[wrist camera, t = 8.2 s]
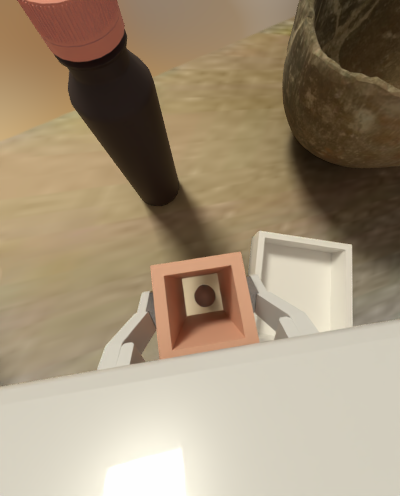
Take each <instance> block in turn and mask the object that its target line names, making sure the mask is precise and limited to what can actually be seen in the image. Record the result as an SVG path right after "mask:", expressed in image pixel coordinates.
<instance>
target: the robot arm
mask: <svg viewBox="0 0 400 496" xmlns="http://www.w3.org/2000/svg"><path fill="white" fill-rule="evenodd" d="M246 279H247V284H248V289H249V294H250V299H251V303H252V308H253V313H255V314H256V315H257V316H259V317H260V318H261V319H262V320H263V321H264V322H265V323H267V324H268V325H269V326H270V327H271V328H272V329H273V330H274V331H276V334H275V338H274V340H272V341H266V342H260V343H254V344H248V345H242V346H236V347H230V348H225V349H219V350H213V351H207V352H201V353H195V354H189V355H184V356H178V357H172V358H166V359H160V360H154V361H148V362H145V361H144V359H143V357H142V356H141V354H142V352H143V351H144V349H145V347H146V346H147V344H148V343H149V341H150V339H151V338H152V336H153V334H154V333H155V331H156V329H157V328H156V318H155V308H154V297H153V291H147V292H143V293H142V294H141V298H140V303H139V307H138V311H137V313H135V314H134V315H133V316H132V317H131V318H130V319H129V320H128V322H127V323H126V324H125V325H124V326H123V327H122V328H121V329H120V330H119V331H118V333H117V334H116V335H115V336H114V337H113V338H112V339H111V340H110V341H109V343H108V344H107V345H106V346H105V349H104V352H103V354H102V357H101V360H100V363H99V366H98V369H97V370H95V371H89V372H83V373H77V374H71V375H65V376H59V377H53V378H47V379H42V380H36V381H30V382H24V383H18V384H12V385H6V386H0V496H400V319H396V320H390V321H384V322H378V323H372V324H366V325H360V326H354V327H348V328H343V329H337V330H331V331H325V332H319V331H318V330H317V328H316V327H315V326H314V324H313V323H312V321H311V320H310V319H309V317H308V316H307V314H306V313H305V312H303V311H301V310H300V309H298V308H296V307H295V306H293V305H291V304H290V303H288V302H286V301H285V300H283V299H281V298H280V297H278V296H276V295H275V294H273V293H271V292H267V290H266V288H265V287H264V285H263V283H262V281H261V280H260V278H259V276H258V275H257V274H253V275H247V276H246Z"/></svg>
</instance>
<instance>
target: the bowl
mask: <svg viewBox="0 0 400 496" xmlns="http://www.w3.org/2000/svg"><path fill="white" fill-rule="evenodd" d="M283 104H284V109H285V113H286V117H287V120H288V123H289V126H290V128H291V130H292V132H293V134H294V136H295V137H296V139H297V140H298V142H299V143H300V144H301V145H302V146H303V147H304V148H305V149H307V150H308V151H309V152H311V153H312V154H313V155H315V156H317V157H318V158H320V159H323V160H325V161H327V162H330V163H333V164H337V165H340V166H345V167H351V168H384V167H394V166H400V0H299V4H298V7H297V12H296V16H295V21H294V25H293V28H292V32H291V36H290V39H289V43H288V48H287V56H286V59H285V64H284V72H283Z"/></svg>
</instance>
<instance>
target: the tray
mask: <svg viewBox="0 0 400 496" xmlns="http://www.w3.org/2000/svg"><path fill="white" fill-rule="evenodd" d="M253 274H257V275H258V276H259V278H260V280H261V281H262V283H263V285H264V287H265V288H266V290H267V292H271V293H273V294H275V295H276V296H278V297H280V298H281V299H283V300H285V301H286V302H288V303H290V304H291V305H293V306H295V307H296V308H298V309H300V310H301V311H303V312H305V313H306V314H307V316H308V317H309V319H310V320H311V321H312V323H313V324H314V326H315V327H316V328H317V330H318V331H319V332H325V331H331V330H337V329H343V328H348V327H353V319H352V245H351V244H344V243H337V242H331V241H324V240H317V239H311V238H304V237H298V236H291V235H284V234H278V233H271V232H265V231H259V232H257V233H256V234H255V235H254V236H253V237H252V242H251V251H250V260H249V269H248V275H253ZM254 318H255V323H256V328H257V332H258V337H259V342H266V341H272V340H274V338H275V334H276V331H274V330H273V329H272V328H271V327H270V326H269V325H268V324H267V323H265V322H264V321H263V320H262V319H261V318H260V317H259V316H257V315H256V314H255V313H254Z"/></svg>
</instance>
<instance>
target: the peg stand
mask: <svg viewBox="0 0 400 496" xmlns="http://www.w3.org/2000/svg"><path fill="white" fill-rule="evenodd" d="M182 283H183V290H184V298H185V305H186V313H187V316H190V315H196V314H202V313H208V312H214V311H220V310H223V305H222V299H221V293H220V288H219V282H218V276H217V273H215V274H209V275H202V276H196V277H190V278H183V279H182Z"/></svg>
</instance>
